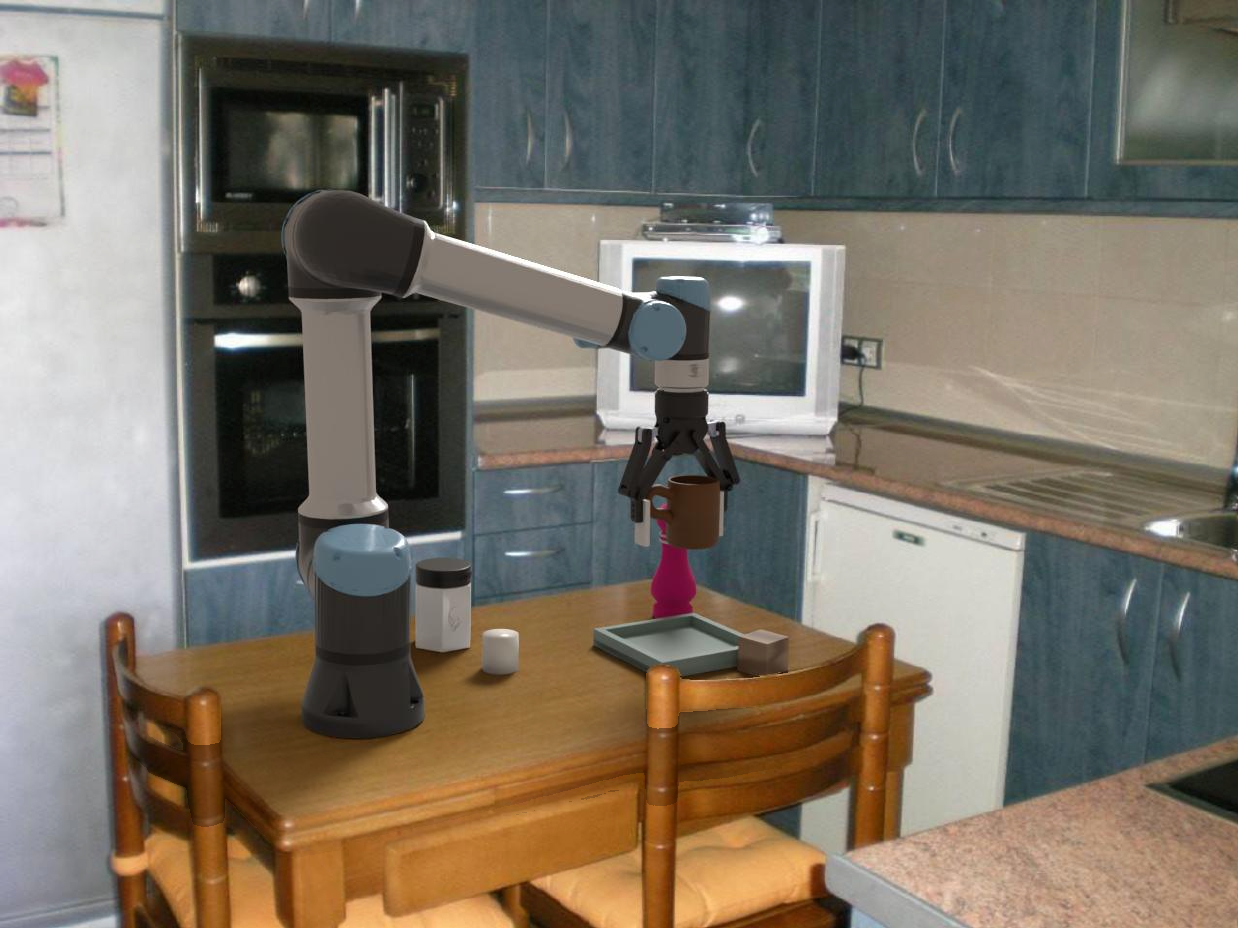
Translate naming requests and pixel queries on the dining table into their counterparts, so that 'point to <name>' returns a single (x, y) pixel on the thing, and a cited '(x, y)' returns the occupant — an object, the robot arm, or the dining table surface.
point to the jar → (443, 604)
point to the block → (763, 653)
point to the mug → (689, 510)
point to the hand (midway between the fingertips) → (679, 539)
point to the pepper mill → (672, 580)
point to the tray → (672, 643)
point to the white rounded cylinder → (500, 651)
